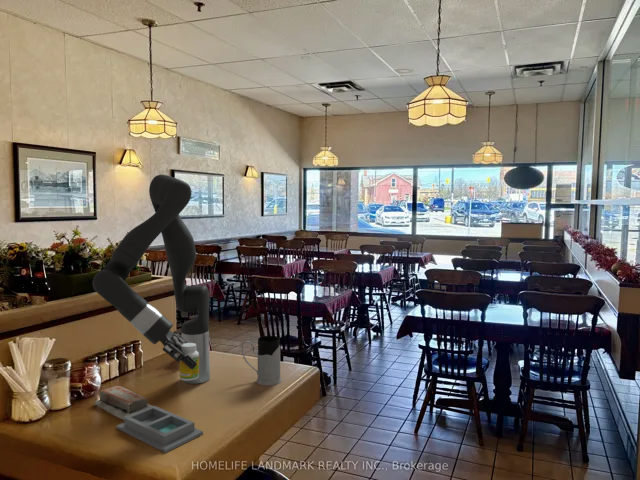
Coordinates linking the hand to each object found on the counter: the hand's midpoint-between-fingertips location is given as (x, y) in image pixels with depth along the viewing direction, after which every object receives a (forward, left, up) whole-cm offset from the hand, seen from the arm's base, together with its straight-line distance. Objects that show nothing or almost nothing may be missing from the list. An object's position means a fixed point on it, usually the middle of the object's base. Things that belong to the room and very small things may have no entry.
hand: (195, 363), depth 141 cm
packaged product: (-24, -8, -17) cm, 31 cm away
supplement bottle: (-1, -1, -4) cm, 5 cm away
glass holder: (-5, +33, -17) cm, 37 cm away
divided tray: (-2, -11, -16) cm, 20 cm away
